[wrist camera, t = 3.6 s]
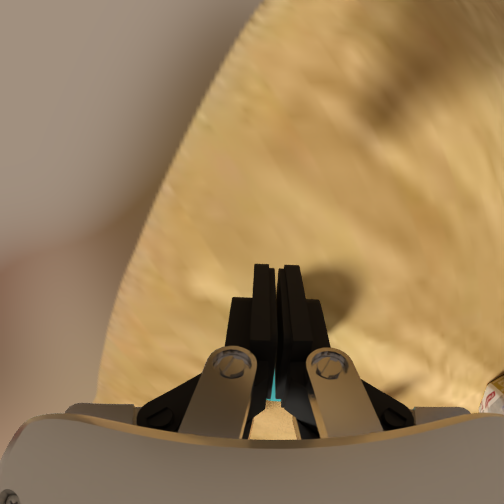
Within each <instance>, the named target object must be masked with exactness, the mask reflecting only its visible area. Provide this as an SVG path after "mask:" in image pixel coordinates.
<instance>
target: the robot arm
mask: <svg viewBox="0 0 504 504" xmlns="http://www.w3.org/2000/svg"><path fill="white" fill-rule="evenodd" d="M274 370H275V398H276V399H281V408H284V409H285V410H286V411H288V412H289V413H290V414H292V415H293V425H294V429H295V433H296V437H297V440H251V439H250V435H251V431H252V427H253V422H254V417H255V416H256V415H258V414H259V413H260V412H262V411H263V410H264V409H265V405H266V399H271V394H272V386H273V378H274ZM0 504H504V415H503V414H497V413H472V414H471V413H470V412H469V411H468V410H466V409H465V408H461V407H414V408H413V410H412V409H409V408H408V407H406V406H405V405H404V404H402V403H400V402H399V401H397V400H395V399H393V398H392V397H390V396H388V395H387V394H385V393H383V392H382V391H380V390H378V389H377V388H375V387H373V386H372V385H370V384H368V383H367V382H365V381H363V380H362V379H360V377H359V374H358V372H357V370H356V368H355V366H354V364H353V361H352V360H351V358H350V357H349V356H348V355H347V354H346V353H344V352H343V351H341V350H338V349H335V348H331V347H330V343H329V338H328V334H327V329H326V325H325V321H324V317H323V312H322V308H321V304H320V301H319V300H313V299H306V298H305V293H304V287H303V282H302V277H301V272H300V267H299V265H284V269H279V271H278V283H277V295H276V288H275V269H274V268H269V264H255V265H254V281H253V298H244V297H233V298H232V302H231V309H230V316H229V322H228V329H227V335H226V342H225V347H221V348H219V349H217V350H215V351H214V352H213V353H211V355H210V356H209V358H208V359H207V362H206V364H205V367H204V369H203V371H202V373H201V374H199V375H197V376H196V377H194V378H192V379H190V380H188V381H187V382H185V383H183V384H181V385H180V386H178V387H176V388H174V389H172V390H170V391H169V392H167V393H165V394H163V395H161V396H159V397H157V398H156V399H154V400H152V401H150V402H148V403H147V404H145V405H144V406H142V407H135V406H134V404H93V403H77V404H74V405H72V406H70V407H69V408H68V409H67V410H66V411H65V413H55V414H45V415H40V416H36V417H33V418H30V419H28V420H27V421H26V422H24V423H23V424H22V425H21V426H20V428H19V429H18V430H17V431H16V433H15V434H14V436H13V438H12V440H11V441H10V442H9V444H8V446H7V448H6V450H5V452H4V454H3V456H2V458H1V461H0Z"/></svg>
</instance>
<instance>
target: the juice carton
mask: <svg viewBox="0 0 504 504" xmlns="http://www.w3.org/2000/svg"><path fill="white" fill-rule="evenodd" d="M479 413H497V414H503V415H504V375H503V376H501V377H499V378H497V379H496V380H494V381H492V382H491V383H489V384H488V385H487V387H486V390H485V393H484V396H483V399H482V401H481V403H480V406H479Z"/></svg>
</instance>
